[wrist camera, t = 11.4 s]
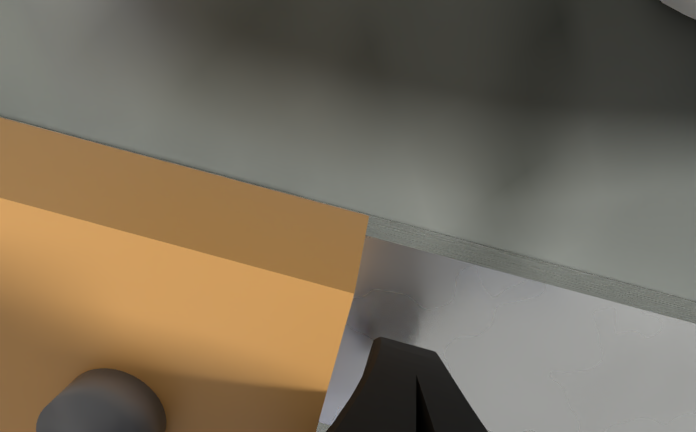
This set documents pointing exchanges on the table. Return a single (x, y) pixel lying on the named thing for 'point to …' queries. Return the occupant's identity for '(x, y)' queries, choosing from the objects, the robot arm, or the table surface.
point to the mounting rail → (520, 335)
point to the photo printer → (683, 6)
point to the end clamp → (162, 293)
